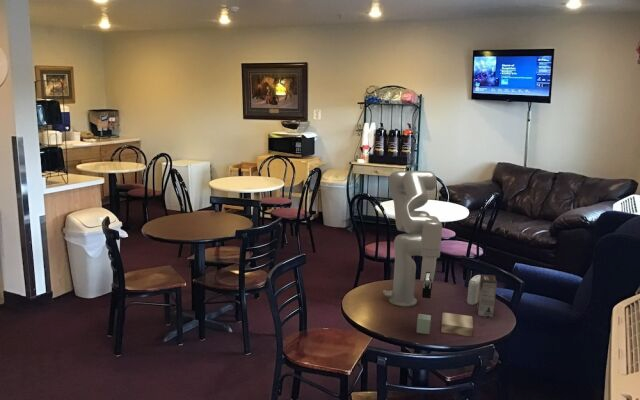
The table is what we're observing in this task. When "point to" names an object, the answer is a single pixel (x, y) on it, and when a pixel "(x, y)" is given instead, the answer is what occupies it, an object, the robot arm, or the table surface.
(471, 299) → the photo printer
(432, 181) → the robot arm
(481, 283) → the coffee box
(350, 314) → the table surface
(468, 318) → the maple base
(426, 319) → the sage block
